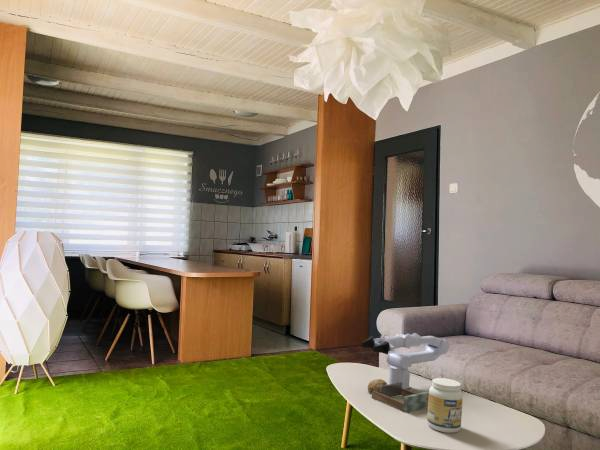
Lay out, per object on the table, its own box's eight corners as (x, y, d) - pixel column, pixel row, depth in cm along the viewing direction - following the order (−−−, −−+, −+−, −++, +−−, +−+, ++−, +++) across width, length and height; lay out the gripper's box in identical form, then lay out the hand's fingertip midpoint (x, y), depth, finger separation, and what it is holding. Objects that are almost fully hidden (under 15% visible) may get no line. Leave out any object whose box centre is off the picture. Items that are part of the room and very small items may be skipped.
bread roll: (365, 400, 218) (363, 386, 215) (372, 385, 226) (371, 371, 223) (386, 405, 213) (385, 391, 210) (393, 390, 221) (392, 375, 218)
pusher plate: (399, 394, 217) (400, 382, 217) (401, 395, 216) (402, 382, 216) (379, 398, 209) (379, 386, 209) (380, 399, 208) (381, 386, 209)
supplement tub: (446, 436, 174) (449, 388, 174) (420, 424, 183) (422, 379, 184) (467, 430, 181) (470, 384, 181) (440, 419, 191) (443, 375, 191)
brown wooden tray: (397, 392, 220) (398, 379, 220) (432, 406, 205) (432, 391, 205) (371, 398, 210) (372, 384, 211) (406, 412, 195) (407, 397, 195)
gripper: (379, 330, 231) (357, 334, 223) (401, 338, 219) (379, 342, 211) (378, 345, 231) (356, 349, 224) (401, 354, 220) (378, 358, 212)
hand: (367, 347), depth 218 cm, fingers open, 7 cm apart
